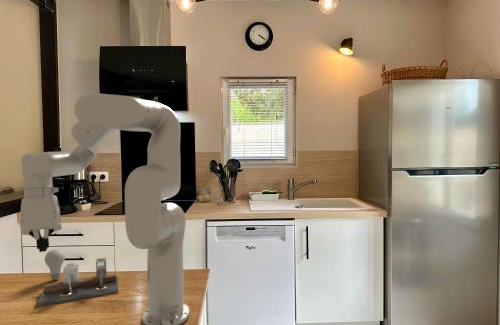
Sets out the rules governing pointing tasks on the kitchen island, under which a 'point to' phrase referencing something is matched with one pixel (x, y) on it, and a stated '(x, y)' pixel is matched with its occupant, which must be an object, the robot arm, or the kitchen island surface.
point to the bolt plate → (77, 293)
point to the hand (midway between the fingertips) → (43, 250)
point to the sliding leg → (70, 275)
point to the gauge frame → (99, 278)
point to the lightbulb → (55, 262)
